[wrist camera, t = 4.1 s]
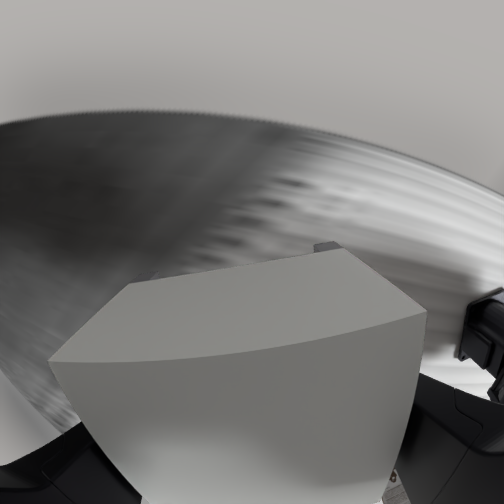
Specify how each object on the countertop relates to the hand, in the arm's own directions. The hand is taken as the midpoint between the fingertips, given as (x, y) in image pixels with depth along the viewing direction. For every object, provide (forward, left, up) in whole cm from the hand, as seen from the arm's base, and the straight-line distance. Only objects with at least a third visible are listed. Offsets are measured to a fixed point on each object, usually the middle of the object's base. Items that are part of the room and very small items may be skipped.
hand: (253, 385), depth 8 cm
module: (0, 0, -2) cm, 2 cm away
